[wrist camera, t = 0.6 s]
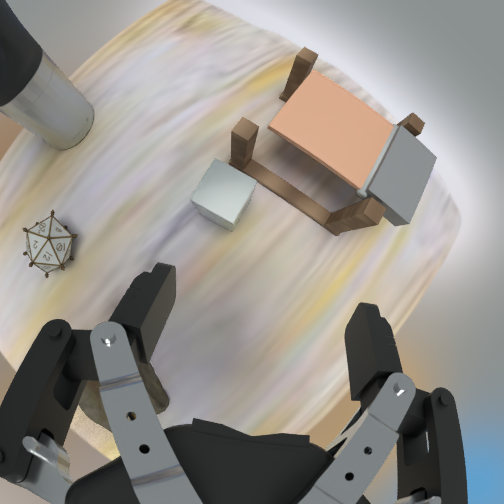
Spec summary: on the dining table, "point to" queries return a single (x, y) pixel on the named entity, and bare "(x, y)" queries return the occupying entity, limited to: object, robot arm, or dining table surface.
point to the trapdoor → (357, 145)
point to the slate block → (223, 194)
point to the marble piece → (94, 404)
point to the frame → (241, 155)
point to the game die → (49, 244)
